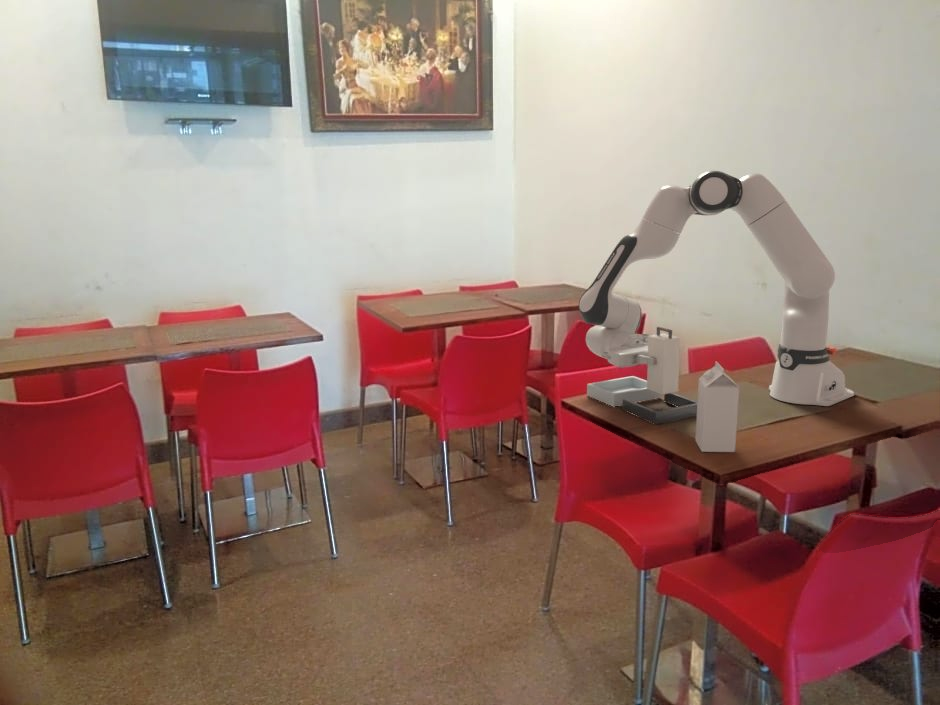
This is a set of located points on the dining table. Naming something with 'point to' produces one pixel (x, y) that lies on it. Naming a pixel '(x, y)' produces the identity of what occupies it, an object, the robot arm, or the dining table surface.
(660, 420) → the tray
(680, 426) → the dining table surface
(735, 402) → the milk carton
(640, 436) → the dining table surface
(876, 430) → the dining table surface
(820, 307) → the robot arm
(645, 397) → the tray
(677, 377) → the white block with handle
